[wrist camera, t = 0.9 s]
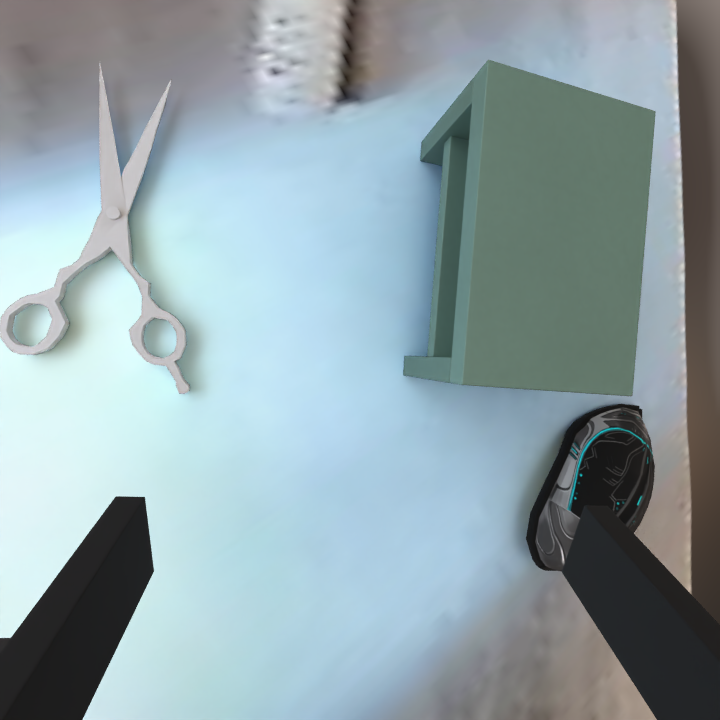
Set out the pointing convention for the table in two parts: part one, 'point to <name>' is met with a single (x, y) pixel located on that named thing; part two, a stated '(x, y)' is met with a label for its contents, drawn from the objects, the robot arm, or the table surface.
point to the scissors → (107, 250)
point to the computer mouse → (592, 480)
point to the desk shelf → (537, 236)
